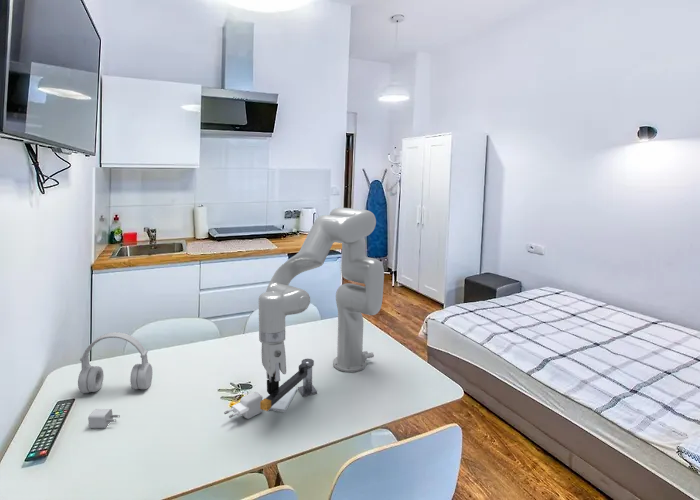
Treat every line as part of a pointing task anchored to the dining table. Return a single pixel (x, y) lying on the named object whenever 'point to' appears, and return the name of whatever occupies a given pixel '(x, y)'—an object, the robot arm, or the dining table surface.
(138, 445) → the dining table surface
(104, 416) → the usb wall charger
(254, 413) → the power adapter
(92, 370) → the headphones
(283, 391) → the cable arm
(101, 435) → the dining table surface
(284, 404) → the external hard drive
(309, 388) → the post
